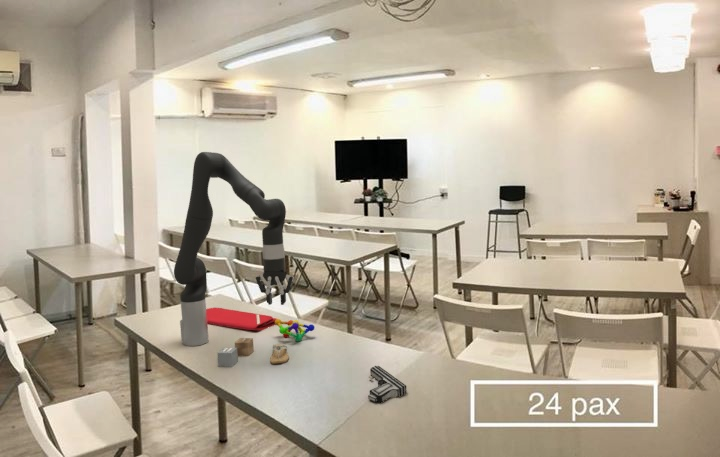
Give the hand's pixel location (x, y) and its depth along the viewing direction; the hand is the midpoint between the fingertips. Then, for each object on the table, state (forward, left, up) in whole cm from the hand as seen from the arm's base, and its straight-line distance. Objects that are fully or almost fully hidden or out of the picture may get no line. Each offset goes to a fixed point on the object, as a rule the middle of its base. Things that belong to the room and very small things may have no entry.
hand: (276, 303), depth 182 cm
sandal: (0, 0, -20) cm, 20 cm away
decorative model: (0, +19, -20) cm, 27 cm away
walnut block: (-14, +2, -19) cm, 24 cm away
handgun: (+38, -23, -20) cm, 48 cm away
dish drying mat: (-34, +39, -20) cm, 55 cm away
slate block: (-16, -8, -19) cm, 26 cm away
